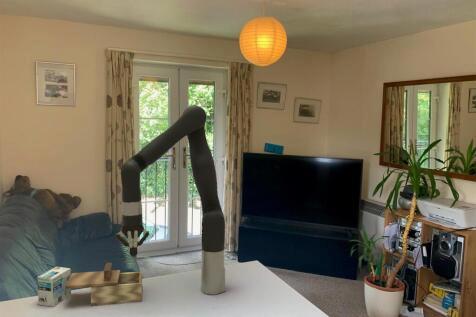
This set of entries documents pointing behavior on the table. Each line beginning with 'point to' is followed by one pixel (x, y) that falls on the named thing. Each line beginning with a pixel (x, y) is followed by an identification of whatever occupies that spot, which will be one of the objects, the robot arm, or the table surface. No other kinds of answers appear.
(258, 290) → the table surface
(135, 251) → the robot arm
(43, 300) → the light bulb box
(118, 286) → the wooden box
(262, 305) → the table surface
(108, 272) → the lid
